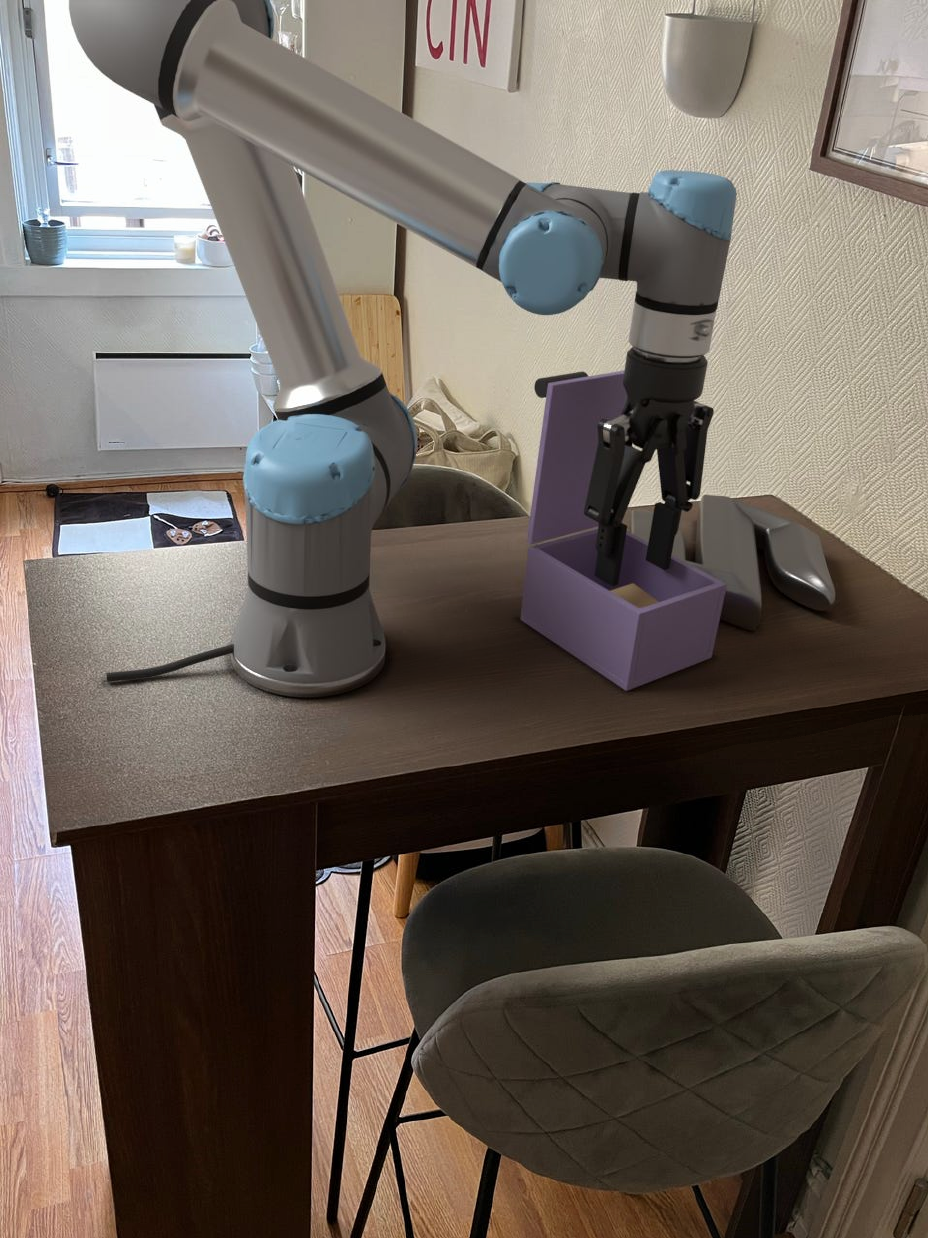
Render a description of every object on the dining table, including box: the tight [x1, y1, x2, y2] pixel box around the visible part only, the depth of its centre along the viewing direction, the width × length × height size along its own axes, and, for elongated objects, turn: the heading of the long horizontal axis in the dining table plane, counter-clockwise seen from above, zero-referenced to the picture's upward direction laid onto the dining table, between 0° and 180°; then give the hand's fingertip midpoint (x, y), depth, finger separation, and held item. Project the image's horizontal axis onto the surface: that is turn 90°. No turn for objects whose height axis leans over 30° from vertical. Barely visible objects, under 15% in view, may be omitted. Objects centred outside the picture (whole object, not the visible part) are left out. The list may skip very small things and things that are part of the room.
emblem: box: [629, 494, 836, 631], centre depth 134 cm, size 28×5×28 cm
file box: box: [520, 528, 727, 692], centre depth 117 cm, size 17×13×9 cm
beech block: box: [611, 583, 659, 609], centre depth 117 cm, size 4×4×4 cm
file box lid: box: [526, 370, 627, 545], centre depth 117 cm, size 17×13×6 cm
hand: (632, 571), depth 114 cm, fingers open, 7 cm apart
